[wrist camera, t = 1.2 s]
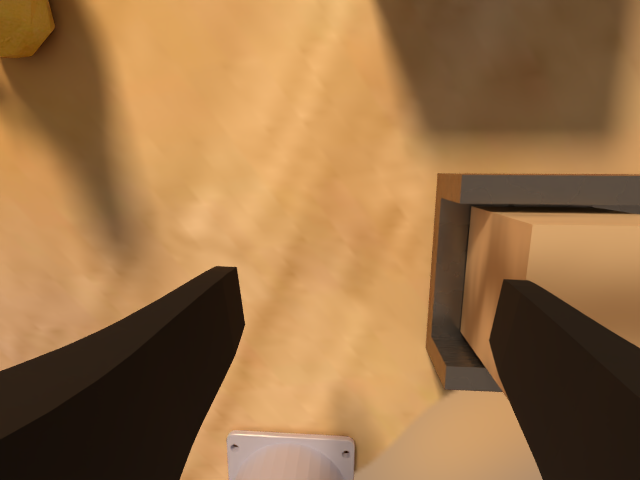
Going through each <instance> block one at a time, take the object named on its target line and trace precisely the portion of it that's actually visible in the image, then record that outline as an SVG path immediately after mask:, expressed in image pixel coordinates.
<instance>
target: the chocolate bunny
mask: <svg viewBox="0 0 640 480" xmlns="http://www.w3.org/2000/svg"><path fill="white" fill-rule="evenodd" d="M54 28H55V24H54V20H53V16H52V12H51V8H50V5H49V1H48V0H0V57H9V58H20V57H28V56H33V54H34V53H35V52H36V51H37V49H38V48H39V47H40V46H41V44H42V43H43V42H44V41H45V39H46V38H47V37H48V36H49V35H50V33H51V32H52V31H53V30H54Z"/></svg>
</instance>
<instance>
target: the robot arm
mask: <svg viewBox="0 0 640 480" xmlns="http://www.w3.org/2000/svg"><path fill="white" fill-rule="evenodd" d="M244 326H245V321H244V314H243V307H242V300H241V294H240V287H239V280H238V273H237V267H221V266H216V267H214V268H212V269H210V270H208V271H206V272H204V273H202V274H201V275H199V276H197V277H195V278H194V279H192V280H190V281H189V282H187V283H185V284H184V285H182V286H180V287H179V288H177V289H175V290H174V291H172V292H170V293H168V294H167V295H165V296H163V297H162V298H160V299H158V300H157V301H155V302H153V303H151V304H149V305H148V306H146V307H144V308H142V309H140V310H138V311H137V312H135V313H133V314H131V315H129V316H127V317H126V318H124V319H122V320H120V321H118V322H116V323H114V324H112V325H110V326H108V327H106V328H104V329H102V330H100V331H98V332H96V333H94V334H91V335H89V336H87V337H85V338H83V339H80V340H78V341H76V342H74V343H71V344H69V345H67V346H64V347H62V348H59V349H57V350H54V351H52V352H49V353H47V354H44V355H41V356H39V357H36V358H34V359H31V360H29V361H26V362H24V363H21V364H18V365H16V366H13V367H11V368H8V369H5V370H2V371H0V480H180V477H181V474H182V472H183V469H184V466H185V463H186V461H187V458H188V455H189V453H190V450H191V447H192V445H193V443H194V440H195V438H196V436H197V434H198V431H199V429H200V427H201V425H202V423H203V421H204V419H205V417H206V415H207V413H208V411H209V409H210V406H211V404H212V402H213V400H214V398H215V396H216V394H217V392H218V390H219V388H220V386H221V384H222V382H223V380H224V378H225V376H226V374H227V371H228V369H229V367H230V365H231V363H232V361H233V359H234V357H235V354H236V351H237V348H238V345H239V342H240V339H241V336H242V333H243V330H244ZM489 343H490V347H491V351H492V354H493V358H494V362H495V365H496V368H497V372H498V375H499V378H500V380H501V383H502V385H503V387H504V390H505V392H506V394H507V397H508V399H509V401H510V404H511V406H512V408H513V411H514V413H515V415H516V418H517V420H518V422H519V424H520V427H521V429H522V431H523V433H524V436H525V438H526V440H527V443H528V445H529V447H530V450H531V452H532V454H533V456H534V459H535V461H536V463H537V466H538V468H539V471H540V473H541V476H542V479H543V480H640V348H639V347H637V346H636V345H634V344H632V343H630V342H629V341H627V340H625V339H624V338H622V337H620V336H619V335H617V334H615V333H614V332H612V331H610V330H609V329H607V328H606V327H604V326H602V325H601V324H599V323H598V322H596V321H594V320H593V319H591V318H590V317H588V316H586V315H585V314H583V313H582V312H580V311H579V310H577V309H575V308H574V307H572V306H571V305H569V304H568V303H566V302H564V301H563V300H561V299H560V298H558V297H557V296H555V295H553V294H552V293H550V292H549V291H547V290H545V289H544V288H542V287H540V286H538V285H537V284H535V283H533V282H531V281H529V280H513V279H503V283H502V287H501V291H500V296H499V300H498V304H497V308H496V312H495V317H494V321H493V325H492V329H491V333H490V338H489ZM233 444H235V445H237V446H238V447H235V446H234V445H233ZM344 451H349V453H344ZM354 452H355V444H354V440H353V439H352V438H351V437H348V436H334V435H316V434H298V433H279V432H261V431H243V430H233V431H231V432H230V433H229V434H228V437H227V456H228V474H229V480H354Z"/></svg>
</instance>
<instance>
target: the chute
mask: <svg viewBox="0 0 640 480" xmlns="http://www.w3.org/2000/svg"><path fill="white" fill-rule="evenodd" d="M471 206H493V207H583V208H602V209H608V210H615V211H621V212H627V213H634V214H640V175H629V174H438V177H437V191H436V206H435V220H434V235H433V250H432V264H431V279H430V294H429V308H428V323H427V337H426V349H427V352H428V354H429V356H430V358H431V360H432V363H433V365H434V367H435V369H436V372H437V374H438V376H439V378H440V380H441V383H442V385H443V387H444V389H448V390H471V391H495V392H503V391H502V390H501V389H500V387H499V386H498V384H497V383H496V382H495V380H494V379H493V377H492V376H491V374H490V373H489V372H488V370H487V369H486V367H485V366H484V364H483V363H482V362H481V360H480V359H479V357H478V356H477V355H476V353H475V352H474V350H473V349H472V347H471V346H470V345H469V343H468V342H467V340H466V339H465V338H464V336H463V335H462V333H461V332H460V330H461V318H462V307H463V296H464V284H465V273H466V262H467V250H468V239H469V228H470V216H471Z"/></svg>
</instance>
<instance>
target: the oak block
mask: <svg viewBox="0 0 640 480" xmlns="http://www.w3.org/2000/svg"><path fill="white" fill-rule="evenodd" d="M503 279H513V280H529V281H531V282H533V283H535V284H537V285H538V286H540V287H542V288H544V289H545V290H547V291H549V292H550V293H552V294H553V295H555V296H557V297H558V298H560V299H561V300H563V301H564V302H566V303H568V304H569V305H571V306H572V307H574V308H575V309H577V310H579V311H580V312H582V313H583V314H585V315H586V316H588V317H590V318H591V319H593V320H594V321H596V322H598V323H599V324H601V325H602V326H604V327H606V328H607V329H609V330H610V331H612V332H614V333H615V334H617V335H619V336H620V337H622V338H624V339H625V340H627V341H629V342H630V343H632V344H634V345H636V346H637V347H639V348H640V214H634V213H627V212H621V211H615V210H608V209H602V208H583V207H493V206H471V216H470V228H469V239H468V250H467V262H466V273H465V284H464V296H463V307H462V318H461V330H460V332H461V333H462V335H463V336H464V338H465V339H466V340H467V342H468V343H469V345H470V346H471V347H472V349H473V350H474V352H475V353H476V355H477V356H478V357H479V359H480V360H481V362H482V363H483V364H484V366H485V367H486V369H487V370H488V372H489V373H490V374H491V376H492V377H493V379H494V380H495V382H496V383H497V384H498V386H499V387H500V389H501V390H502V391H503V393H504V394H505V396H506V397H507V394H506V392H505V390H504V387H503V385H502V383H501V380H500V378H499V375H498V372H497V368H496V365H495V362H494V358H493V354H492V351H491V347H490V343H489V338H490V333H491V329H492V325H493V321H494V317H495V312H496V308H497V304H498V300H499V296H500V291H501V287H502V283H503ZM507 399H508V397H507ZM508 400H509V399H508Z"/></svg>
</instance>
